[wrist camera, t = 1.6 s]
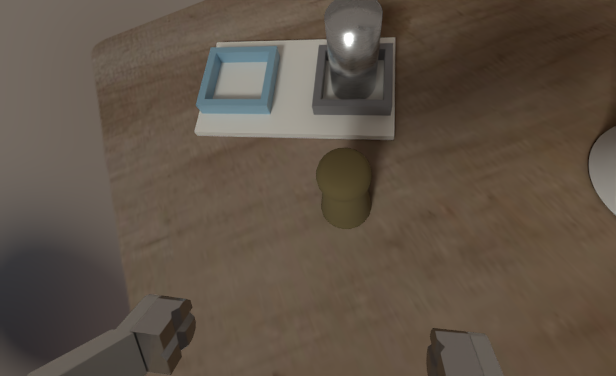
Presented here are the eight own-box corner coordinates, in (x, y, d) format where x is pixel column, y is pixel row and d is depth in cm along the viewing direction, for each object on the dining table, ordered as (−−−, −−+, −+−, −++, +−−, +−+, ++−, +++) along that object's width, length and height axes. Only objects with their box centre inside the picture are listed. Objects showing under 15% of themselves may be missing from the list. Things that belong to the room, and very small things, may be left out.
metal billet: (376, 65, 44) (383, -8, 33) (375, 102, 42) (381, 35, 31) (333, 66, 45) (326, -5, 34) (329, 102, 43) (322, 37, 32)
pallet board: (394, 42, 46) (397, 25, 43) (393, 140, 40) (396, 127, 38) (219, 47, 50) (211, 32, 47) (197, 135, 45) (187, 124, 42)
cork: (317, 185, 40) (305, 143, 29) (365, 177, 39) (370, 132, 29) (325, 232, 37) (314, 204, 27) (376, 224, 37) (384, 193, 27)
